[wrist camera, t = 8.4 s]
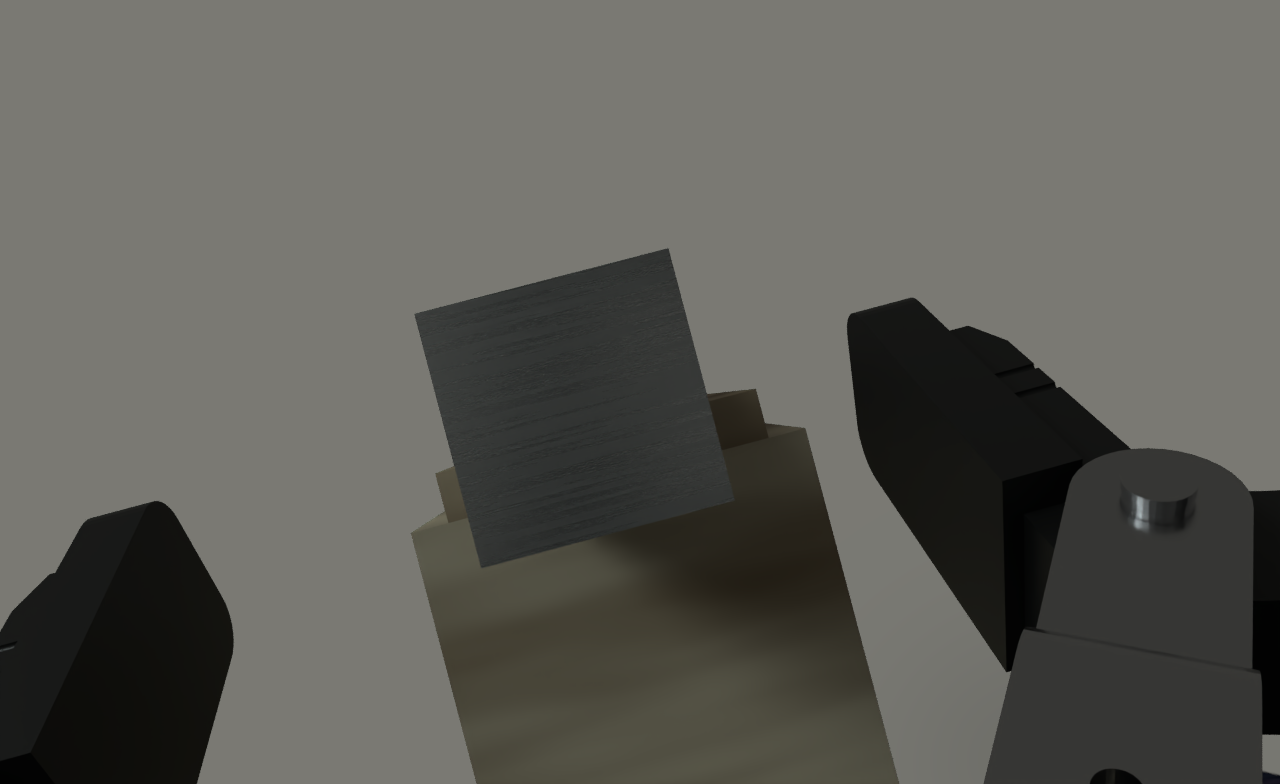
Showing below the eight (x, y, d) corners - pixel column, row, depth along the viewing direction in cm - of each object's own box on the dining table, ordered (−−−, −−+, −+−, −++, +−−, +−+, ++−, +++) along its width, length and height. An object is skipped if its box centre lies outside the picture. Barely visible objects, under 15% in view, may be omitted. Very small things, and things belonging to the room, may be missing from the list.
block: (547, 470, 29) (515, 347, 29) (671, 438, 29) (638, 315, 29) (446, 577, 11) (361, 254, 11) (768, 492, 11) (684, 172, 11)
